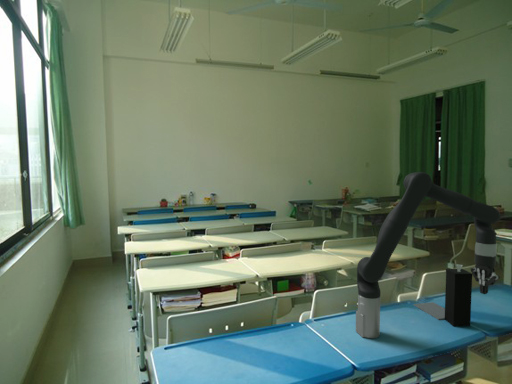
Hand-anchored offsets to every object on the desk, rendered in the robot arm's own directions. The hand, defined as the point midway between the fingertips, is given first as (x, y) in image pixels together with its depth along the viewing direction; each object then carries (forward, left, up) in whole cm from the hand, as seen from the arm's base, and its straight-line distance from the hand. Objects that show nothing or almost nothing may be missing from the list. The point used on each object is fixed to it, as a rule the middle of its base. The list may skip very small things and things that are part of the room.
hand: (483, 293), depth 146 cm
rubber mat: (0, +28, -19) cm, 34 cm away
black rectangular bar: (0, +14, -19) cm, 24 cm away
